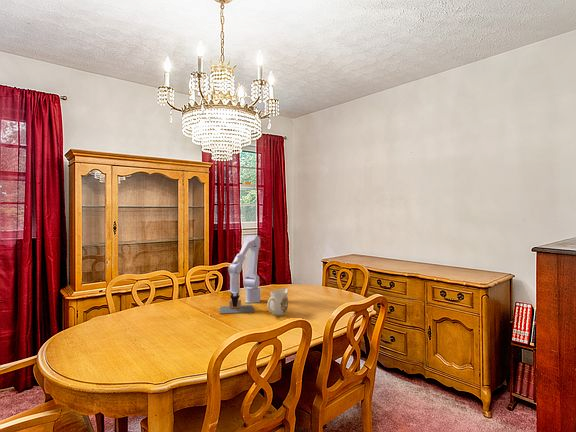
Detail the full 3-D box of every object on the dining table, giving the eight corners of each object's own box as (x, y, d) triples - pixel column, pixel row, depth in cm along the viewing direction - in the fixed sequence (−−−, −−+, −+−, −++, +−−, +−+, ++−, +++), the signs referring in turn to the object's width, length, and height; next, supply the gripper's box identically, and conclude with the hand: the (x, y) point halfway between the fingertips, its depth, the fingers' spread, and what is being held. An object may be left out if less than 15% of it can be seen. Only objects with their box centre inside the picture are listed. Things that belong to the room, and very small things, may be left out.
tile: (240, 307, 213) (240, 299, 213) (240, 308, 211) (240, 300, 211) (229, 307, 212) (229, 299, 212) (229, 308, 210) (229, 300, 210)
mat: (252, 305, 218) (252, 304, 218) (253, 312, 204) (253, 311, 204) (220, 307, 215) (220, 306, 215) (219, 314, 201) (219, 313, 201)
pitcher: (260, 316, 197) (260, 292, 197) (280, 308, 212) (280, 286, 211) (275, 320, 191) (275, 295, 190) (294, 312, 205) (294, 289, 205)
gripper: (228, 280, 218) (228, 301, 218) (228, 285, 203) (228, 308, 204) (239, 280, 219) (239, 301, 219) (240, 285, 204) (240, 308, 205)
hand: (234, 304), depth 212 cm, fingers open, 7 cm apart
